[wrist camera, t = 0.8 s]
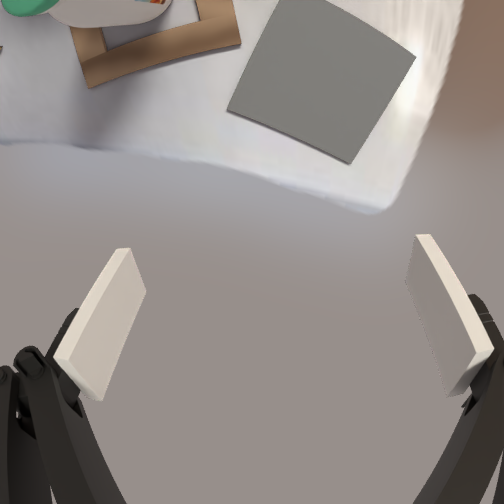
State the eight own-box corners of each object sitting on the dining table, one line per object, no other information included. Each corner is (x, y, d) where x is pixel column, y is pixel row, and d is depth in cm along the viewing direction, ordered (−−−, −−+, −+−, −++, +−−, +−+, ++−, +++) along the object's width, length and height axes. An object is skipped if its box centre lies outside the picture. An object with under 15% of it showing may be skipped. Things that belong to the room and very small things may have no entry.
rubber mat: (288, -16, 23) (288, -17, 23) (414, 56, 27) (416, 57, 27) (227, 108, 33) (226, 109, 33) (349, 162, 37) (350, 164, 37)
